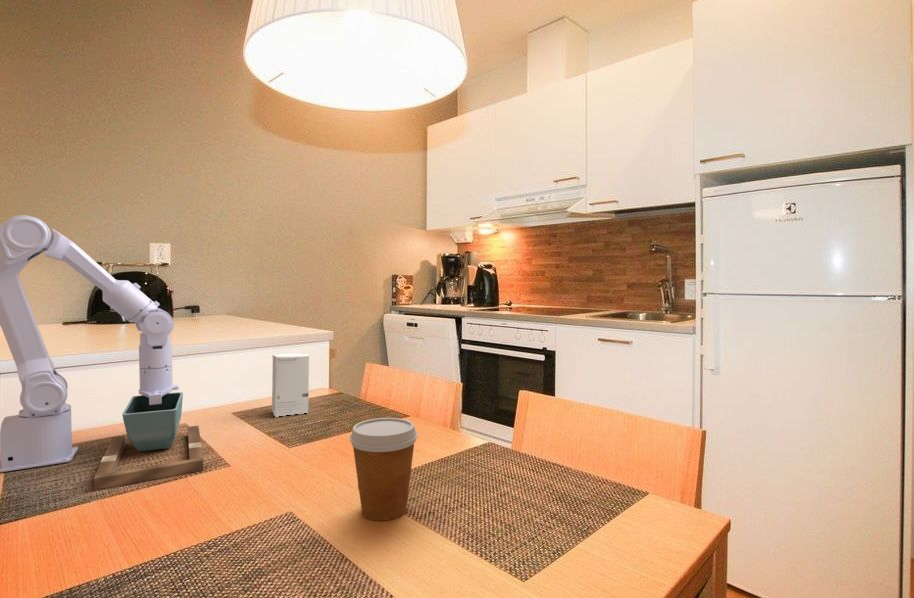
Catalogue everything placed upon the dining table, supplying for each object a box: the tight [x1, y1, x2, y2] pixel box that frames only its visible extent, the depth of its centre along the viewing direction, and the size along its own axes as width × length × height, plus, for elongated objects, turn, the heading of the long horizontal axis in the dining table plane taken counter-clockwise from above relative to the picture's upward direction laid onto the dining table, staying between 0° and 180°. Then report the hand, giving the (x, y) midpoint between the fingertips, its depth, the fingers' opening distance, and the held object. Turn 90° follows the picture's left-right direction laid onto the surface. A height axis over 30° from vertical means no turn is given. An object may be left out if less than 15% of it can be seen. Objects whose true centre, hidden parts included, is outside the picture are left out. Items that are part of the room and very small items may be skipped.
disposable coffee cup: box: [348, 417, 419, 522], centre depth 66 cm, size 10×10×12 cm
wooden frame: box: [93, 425, 204, 491], centre depth 86 cm, size 15×24×2 cm, turn 31°
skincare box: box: [271, 353, 310, 418], centre depth 117 cm, size 8×6×15 cm
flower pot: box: [121, 391, 184, 452], centre depth 91 cm, size 9×9×9 cm
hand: (157, 431), depth 96 cm, fingers closed
